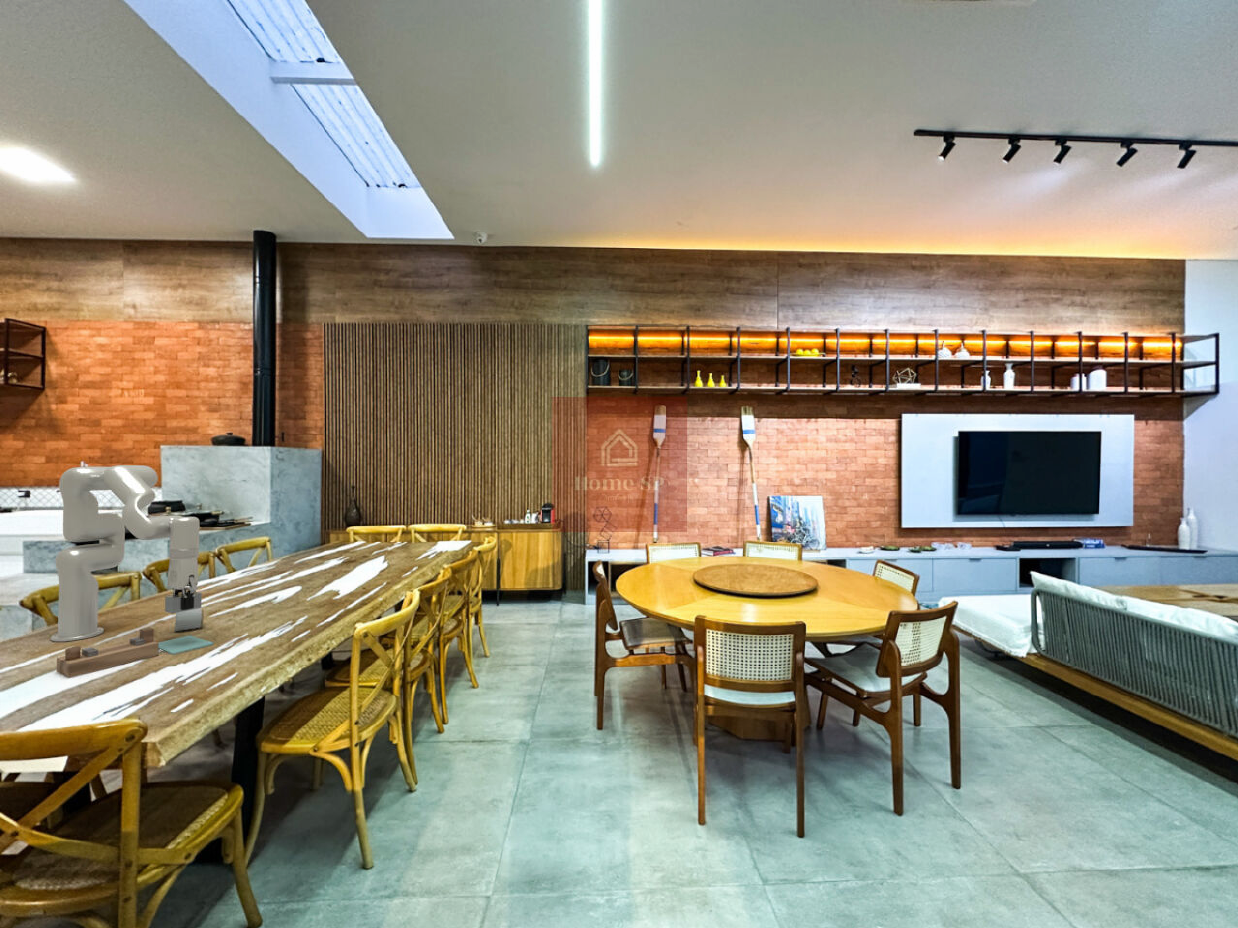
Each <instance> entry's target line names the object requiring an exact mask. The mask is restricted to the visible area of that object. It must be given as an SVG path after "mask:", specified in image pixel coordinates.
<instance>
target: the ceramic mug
mask: <svg viewBox="0 0 1238 928" xmlns="http://www.w3.org/2000/svg"><path fill="white" fill-rule="evenodd" d="M204 619H205V609H203V608H198V609H193V610H188V611H183V612H178V613H175V620H174V621H175V623H174V632H176V631H178V632H184V631H183V630H185V631H190V630H189V629H191V630H197V629H196V628H198V629H202V628H203V627H204V621H205V620H204Z"/></svg>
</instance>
